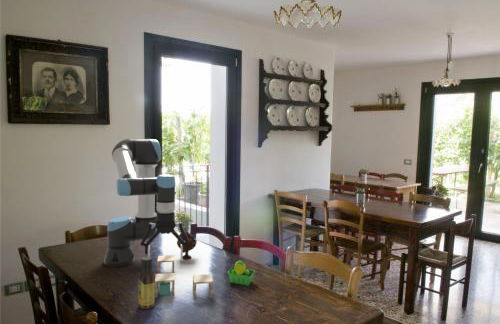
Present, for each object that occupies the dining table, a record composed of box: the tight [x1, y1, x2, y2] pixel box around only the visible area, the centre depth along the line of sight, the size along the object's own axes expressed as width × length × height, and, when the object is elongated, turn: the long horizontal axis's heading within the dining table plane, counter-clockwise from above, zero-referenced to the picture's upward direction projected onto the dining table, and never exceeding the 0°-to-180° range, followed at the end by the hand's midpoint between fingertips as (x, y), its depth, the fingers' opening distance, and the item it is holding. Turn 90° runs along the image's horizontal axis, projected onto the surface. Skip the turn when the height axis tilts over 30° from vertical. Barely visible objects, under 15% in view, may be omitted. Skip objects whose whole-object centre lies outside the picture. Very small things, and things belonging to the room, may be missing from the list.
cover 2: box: [154, 272, 176, 298], centre depth 164 cm, size 8×8×7 cm
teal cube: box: [158, 282, 171, 296], centre depth 164 cm, size 4×4×4 cm
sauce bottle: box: [137, 255, 156, 310], centre depth 150 cm, size 7×6×20 cm
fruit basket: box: [227, 260, 256, 286], centre depth 177 cm, size 11×9×11 cm
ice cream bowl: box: [176, 230, 198, 261], centre depth 208 cm, size 11×11×15 cm
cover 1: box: [156, 254, 175, 274], centre depth 187 cm, size 8×8×7 cm
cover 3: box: [192, 273, 214, 300], centre depth 163 cm, size 8×8×7 cm
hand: (165, 260), depth 162 cm, fingers open, 13 cm apart
